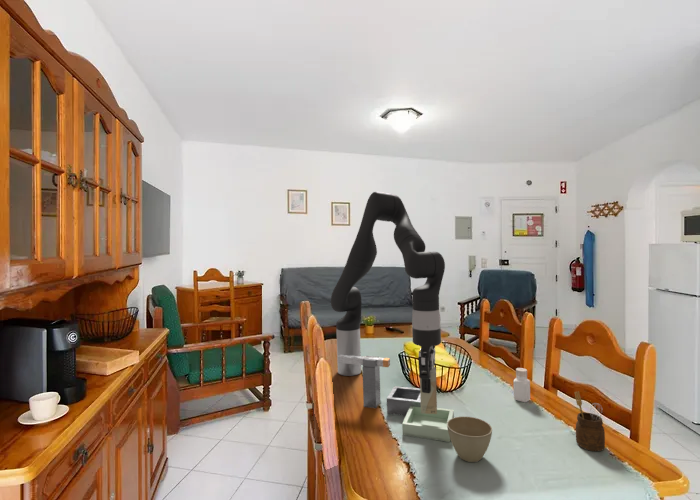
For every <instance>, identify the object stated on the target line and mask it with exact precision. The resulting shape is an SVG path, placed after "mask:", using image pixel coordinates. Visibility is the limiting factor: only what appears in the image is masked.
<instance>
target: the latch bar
mask: <svg viewBox="0 0 700 500" xmlns="http://www.w3.org/2000/svg"><path fill="white" fill-rule="evenodd" d="M377 357H378V356H377ZM377 357H366V356H364V355H363V356H362V355H361V356H351V355H339V356H338V363H345V364H357V365H361V366H363V359H370V360H376V366H380V367H382V368H389V367H390V365H391V357H390V358H389V357H379V358H377Z"/></svg>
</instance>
